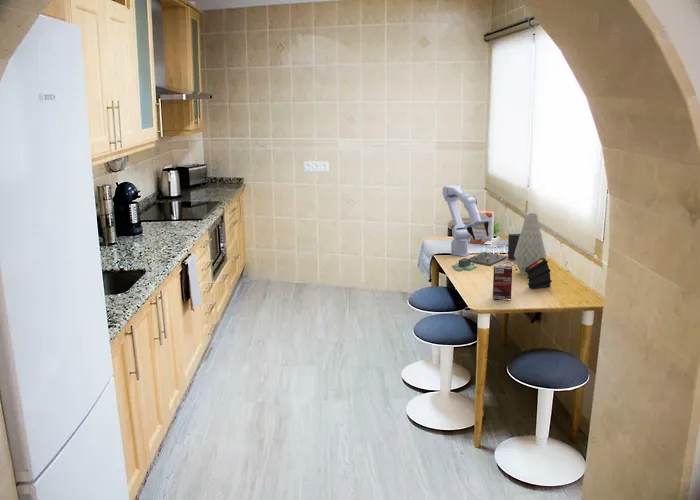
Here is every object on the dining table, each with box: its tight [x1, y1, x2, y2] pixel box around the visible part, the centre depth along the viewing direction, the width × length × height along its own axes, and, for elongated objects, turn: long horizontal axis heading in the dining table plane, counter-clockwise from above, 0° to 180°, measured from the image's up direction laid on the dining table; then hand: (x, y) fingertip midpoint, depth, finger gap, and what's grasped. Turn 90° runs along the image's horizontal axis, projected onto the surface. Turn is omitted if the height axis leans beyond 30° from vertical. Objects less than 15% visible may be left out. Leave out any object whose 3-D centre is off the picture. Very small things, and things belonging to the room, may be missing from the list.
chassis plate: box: [468, 250, 508, 267], centre depth 362 cm, size 16×20×4 cm
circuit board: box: [451, 257, 478, 272], centre depth 348 cm, size 12×15×5 cm
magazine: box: [525, 258, 552, 290], centre depth 310 cm, size 4×13×15 cm, turn 105°
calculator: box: [507, 233, 520, 261], centre depth 359 cm, size 11×4×15 cm, turn 84°
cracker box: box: [469, 210, 495, 245], centre depth 396 cm, size 14×6×21 cm, turn 62°
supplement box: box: [492, 265, 513, 300], centre depth 296 cm, size 9×5×16 cm, turn 80°
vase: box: [514, 212, 547, 277], centre depth 330 cm, size 17×17×33 cm
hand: (481, 237), depth 347 cm, fingers open, 7 cm apart
